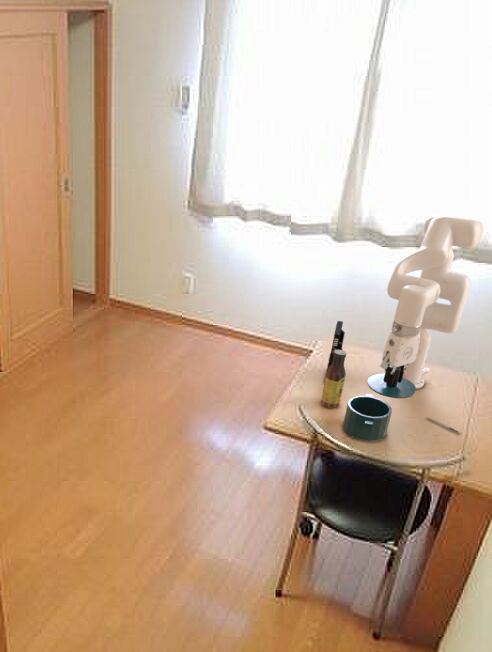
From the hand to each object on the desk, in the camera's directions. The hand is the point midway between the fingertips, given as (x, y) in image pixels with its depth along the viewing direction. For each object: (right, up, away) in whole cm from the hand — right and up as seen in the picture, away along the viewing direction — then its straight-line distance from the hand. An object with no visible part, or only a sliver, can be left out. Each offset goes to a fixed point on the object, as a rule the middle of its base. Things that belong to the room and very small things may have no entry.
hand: (392, 381), depth 199 cm
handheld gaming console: (-7, +2, +40) cm, 41 cm away
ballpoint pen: (+22, -15, +14) cm, 30 cm away
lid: (0, -1, +1) cm, 2 cm away
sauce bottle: (-12, -8, +25) cm, 28 cm away
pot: (-5, -15, +11) cm, 20 cm away
